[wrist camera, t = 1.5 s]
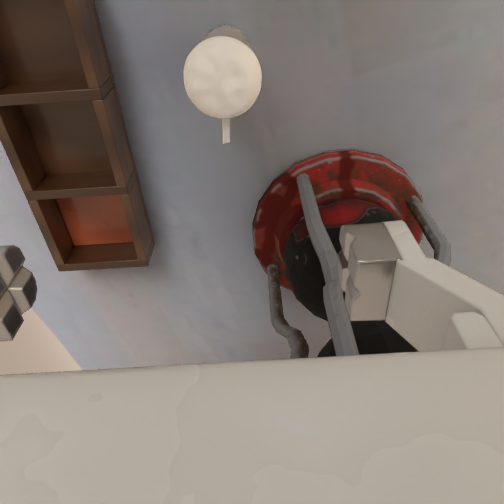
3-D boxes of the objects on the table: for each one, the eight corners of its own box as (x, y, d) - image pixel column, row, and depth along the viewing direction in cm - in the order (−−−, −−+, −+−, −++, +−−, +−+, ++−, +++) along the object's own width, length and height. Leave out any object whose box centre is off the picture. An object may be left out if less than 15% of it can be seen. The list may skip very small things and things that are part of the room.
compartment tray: (-47, -40, 27) (-80, -37, 24) (81, -49, 27) (63, -47, 24) (71, 248, 42) (58, 271, 39) (154, 243, 41) (148, 266, 39)
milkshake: (200, 93, 33) (187, 145, 25) (191, 15, 29) (173, 46, 21) (258, 90, 33) (264, 141, 25) (256, 12, 29) (262, 41, 21)
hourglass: (383, 112, 34) (586, 367, 14) (441, 245, 42) (619, 523, 22) (219, 204, 39) (197, 490, 19) (300, 308, 47) (344, 580, 27)
